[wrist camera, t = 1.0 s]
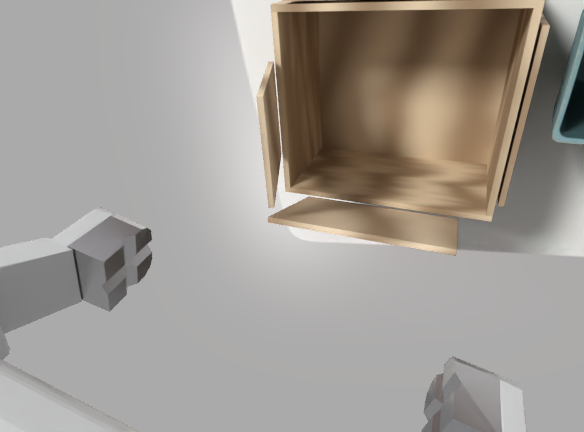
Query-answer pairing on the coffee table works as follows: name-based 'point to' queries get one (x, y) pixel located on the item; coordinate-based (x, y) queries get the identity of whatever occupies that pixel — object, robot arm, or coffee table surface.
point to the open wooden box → (406, 99)
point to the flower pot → (571, 95)
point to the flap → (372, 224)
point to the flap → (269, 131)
